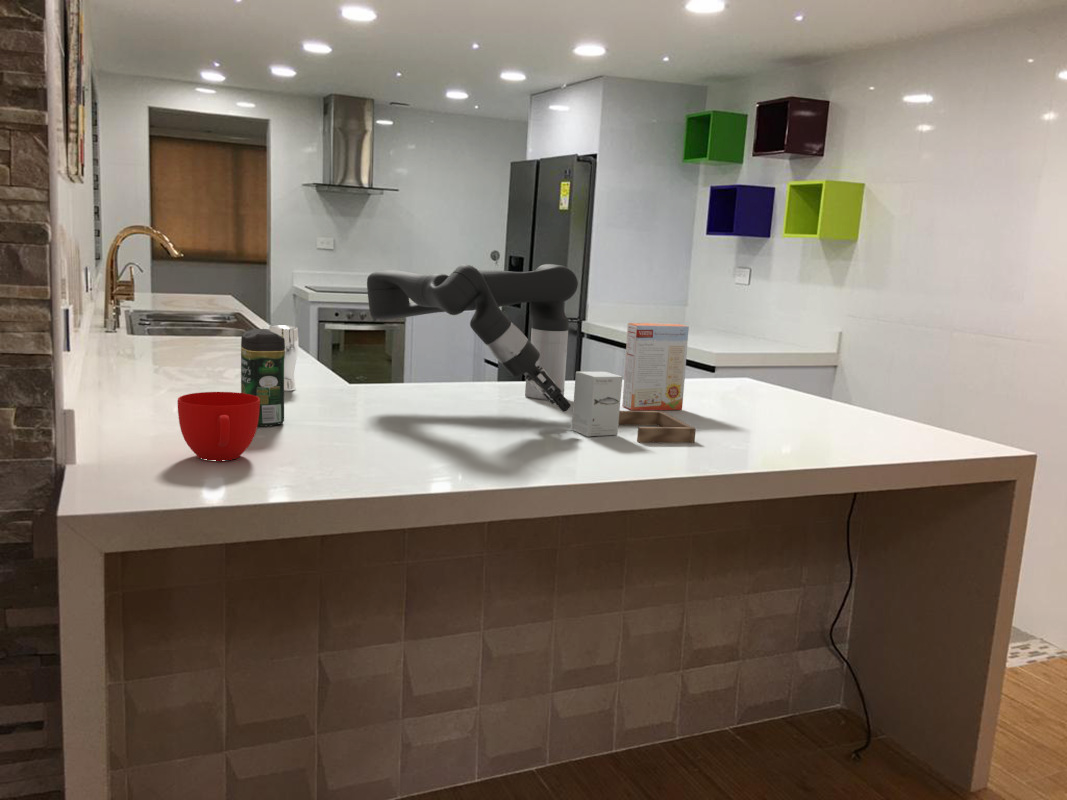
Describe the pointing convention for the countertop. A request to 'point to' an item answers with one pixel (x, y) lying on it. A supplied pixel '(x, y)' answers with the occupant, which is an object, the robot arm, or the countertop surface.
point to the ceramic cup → (218, 423)
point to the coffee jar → (264, 373)
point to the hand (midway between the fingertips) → (561, 405)
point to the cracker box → (655, 366)
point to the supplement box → (596, 403)
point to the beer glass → (288, 352)
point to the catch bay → (666, 433)
